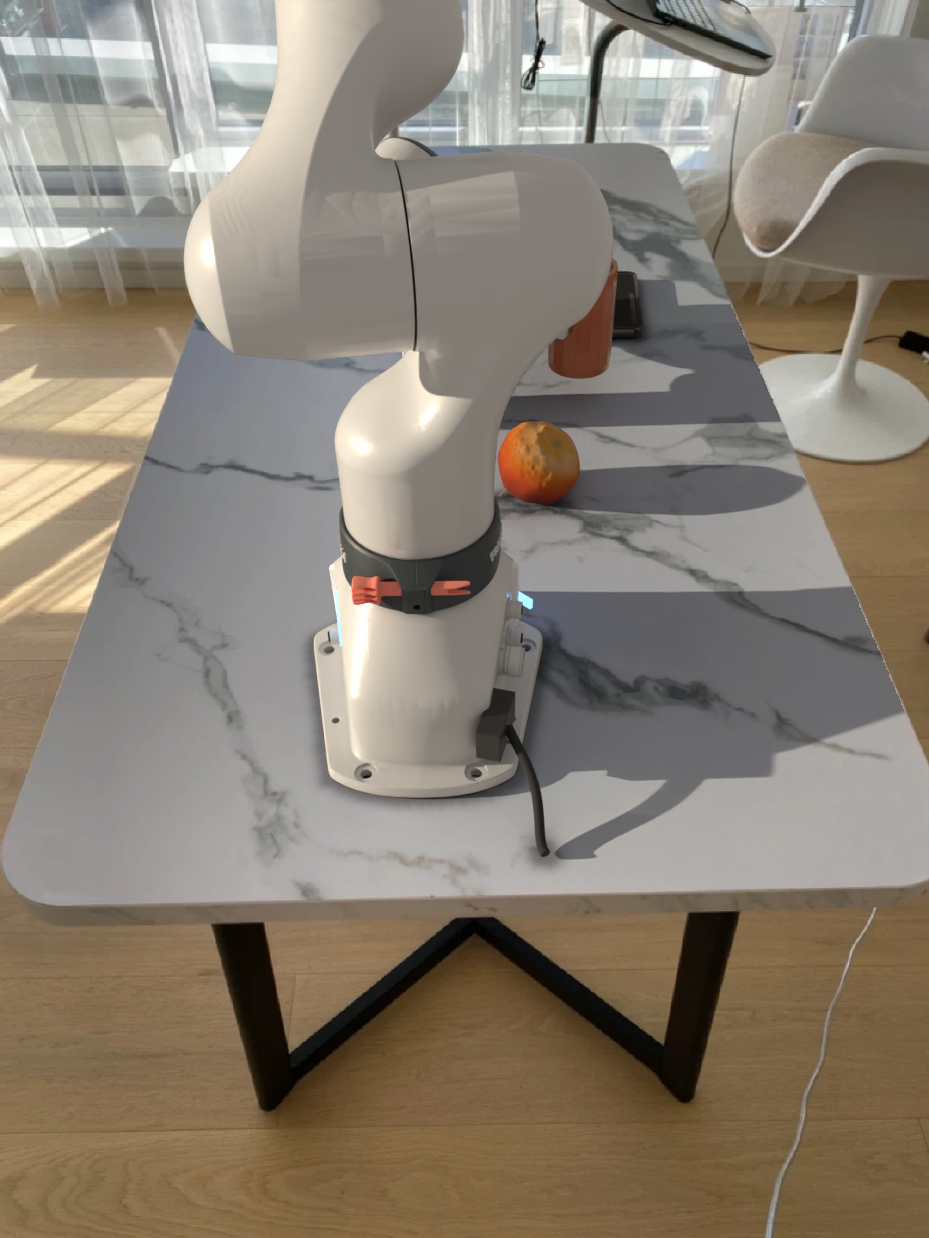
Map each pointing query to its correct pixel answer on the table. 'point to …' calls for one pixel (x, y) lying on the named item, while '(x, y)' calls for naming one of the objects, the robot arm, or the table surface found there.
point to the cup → (588, 338)
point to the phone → (627, 307)
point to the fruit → (538, 463)
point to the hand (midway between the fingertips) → (589, 313)
